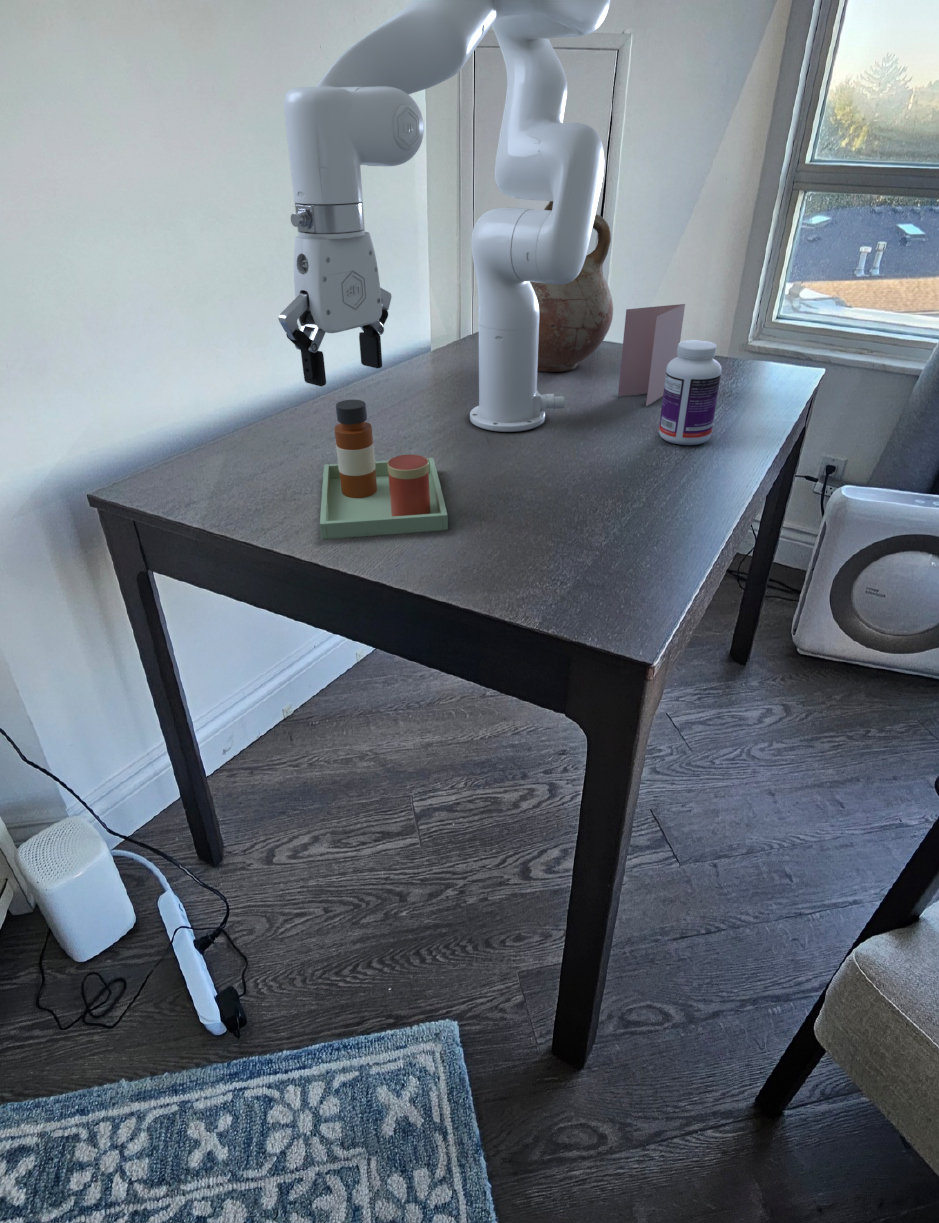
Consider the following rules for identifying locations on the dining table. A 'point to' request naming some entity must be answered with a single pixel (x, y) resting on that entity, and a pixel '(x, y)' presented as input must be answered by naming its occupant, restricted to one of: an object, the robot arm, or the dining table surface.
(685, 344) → the pill bottle
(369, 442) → the spice bottle
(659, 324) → the greeting card
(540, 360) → the jug
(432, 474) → the tray
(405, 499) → the tea tin
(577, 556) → the dining table surface
